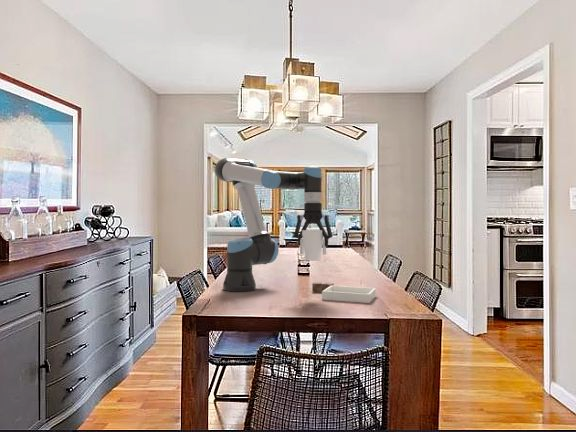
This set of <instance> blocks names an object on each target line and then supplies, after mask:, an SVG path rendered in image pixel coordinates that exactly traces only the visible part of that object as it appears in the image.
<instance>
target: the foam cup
mask: <svg viewBox="0 0 576 432" xmlns="http://www.w3.org/2000/svg"><path fill="white" fill-rule="evenodd" d="M301 230H302V229H301ZM302 236H303V237H302V239H303V243H304V258H305V261H307V262H309V261H310V262H311V261H313V262H314V261H315V262H318V261H321V258H322V257H321V256H322V252H323V239H324V237H323V235H322V230H320V229H306V230H302Z"/></svg>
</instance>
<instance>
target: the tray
mask: <svg viewBox="0 0 576 432" xmlns="http://www.w3.org/2000/svg"><path fill="white" fill-rule="evenodd" d="M376 296H377V288H376V287H363V286H361V287H360V286H347V285H346V286H345V285H335V284H334V285H331V286H329V287H328V288H326V289H325V290H323V291H322V292H321V300H323V301H326V300H327V301H335V302H336V301H340V302H350V303H351V302H352V303H363V304H364V303H365V304H370V303H371V302H372V301H373V300H374V299H375V298H376Z"/></svg>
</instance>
